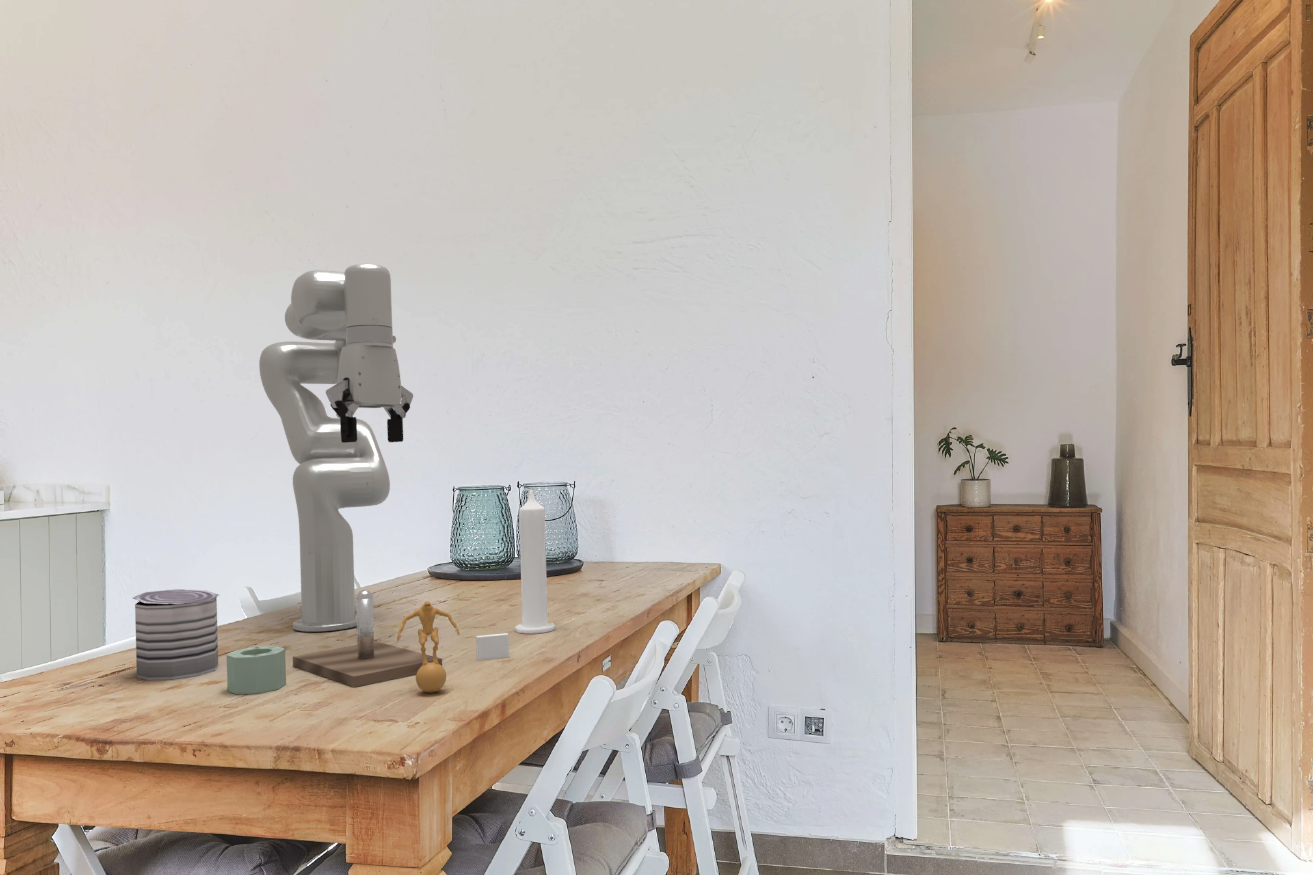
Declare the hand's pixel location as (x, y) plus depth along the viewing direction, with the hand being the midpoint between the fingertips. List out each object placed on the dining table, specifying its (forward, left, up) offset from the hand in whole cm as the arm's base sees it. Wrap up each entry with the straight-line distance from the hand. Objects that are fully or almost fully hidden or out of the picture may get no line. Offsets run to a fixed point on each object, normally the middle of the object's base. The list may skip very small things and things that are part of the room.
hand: (373, 442), depth 158 cm
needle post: (+12, -8, -33) cm, 36 cm away
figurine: (+32, -9, -35) cm, 48 cm away
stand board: (+12, -8, -34) cm, 37 cm away
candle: (+9, +26, -34) cm, 44 cm away
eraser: (+22, +8, -35) cm, 42 cm away
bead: (+11, -24, -34) cm, 43 cm away
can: (-9, -28, -35) cm, 46 cm away
